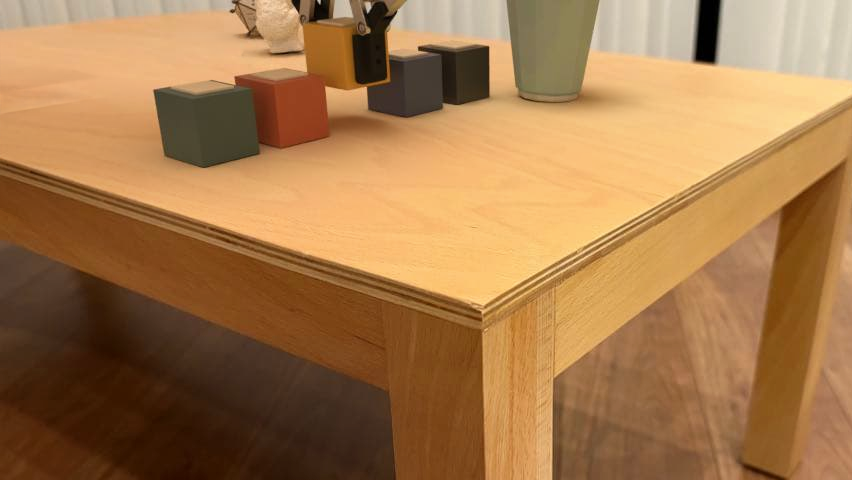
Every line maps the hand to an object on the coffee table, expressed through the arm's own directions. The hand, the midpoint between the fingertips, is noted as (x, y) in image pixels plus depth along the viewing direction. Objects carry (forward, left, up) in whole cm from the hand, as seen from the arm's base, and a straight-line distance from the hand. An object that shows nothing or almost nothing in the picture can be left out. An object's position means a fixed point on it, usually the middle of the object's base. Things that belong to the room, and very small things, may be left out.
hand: (348, 75), depth 74 cm
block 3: (+7, 0, -4) cm, 8 cm away
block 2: (-7, 0, -4) cm, 8 cm away
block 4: (+14, 0, -4) cm, 14 cm away
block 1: (-14, 0, -4) cm, 15 cm away
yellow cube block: (0, 0, -1) cm, 1 cm away
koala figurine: (+20, +34, -4) cm, 40 cm away
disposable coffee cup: (+21, -7, -4) cm, 22 cm away
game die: (+27, +47, -4) cm, 54 cm away
